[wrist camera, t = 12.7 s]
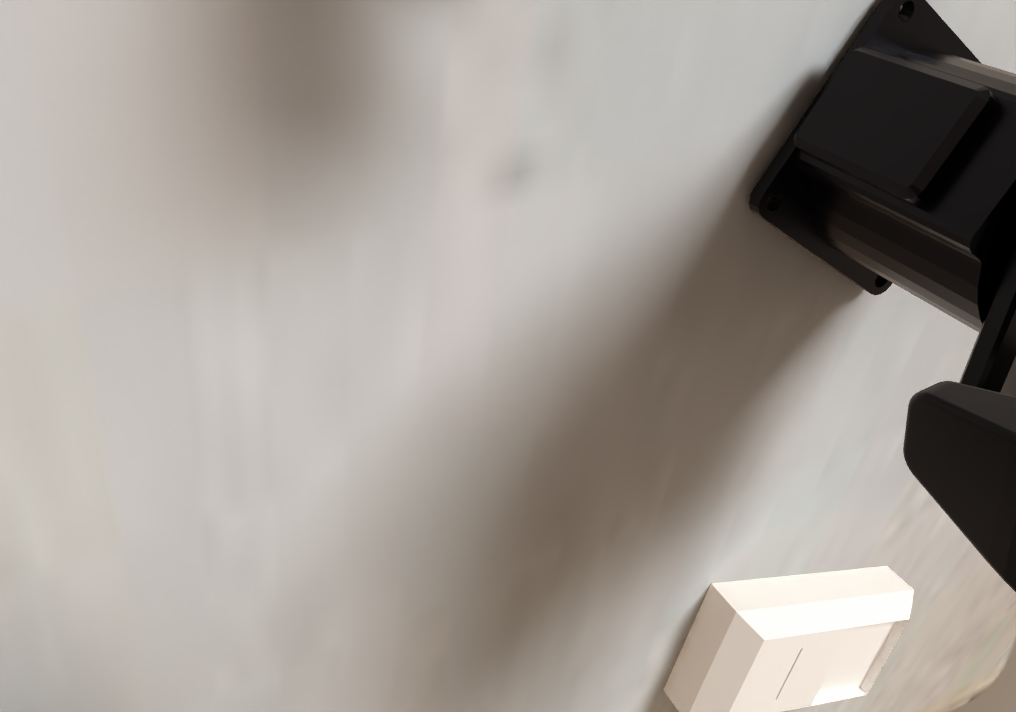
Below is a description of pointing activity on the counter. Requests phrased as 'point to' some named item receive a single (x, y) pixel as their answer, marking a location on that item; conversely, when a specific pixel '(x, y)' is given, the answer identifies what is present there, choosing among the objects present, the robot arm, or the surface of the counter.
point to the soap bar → (789, 641)
